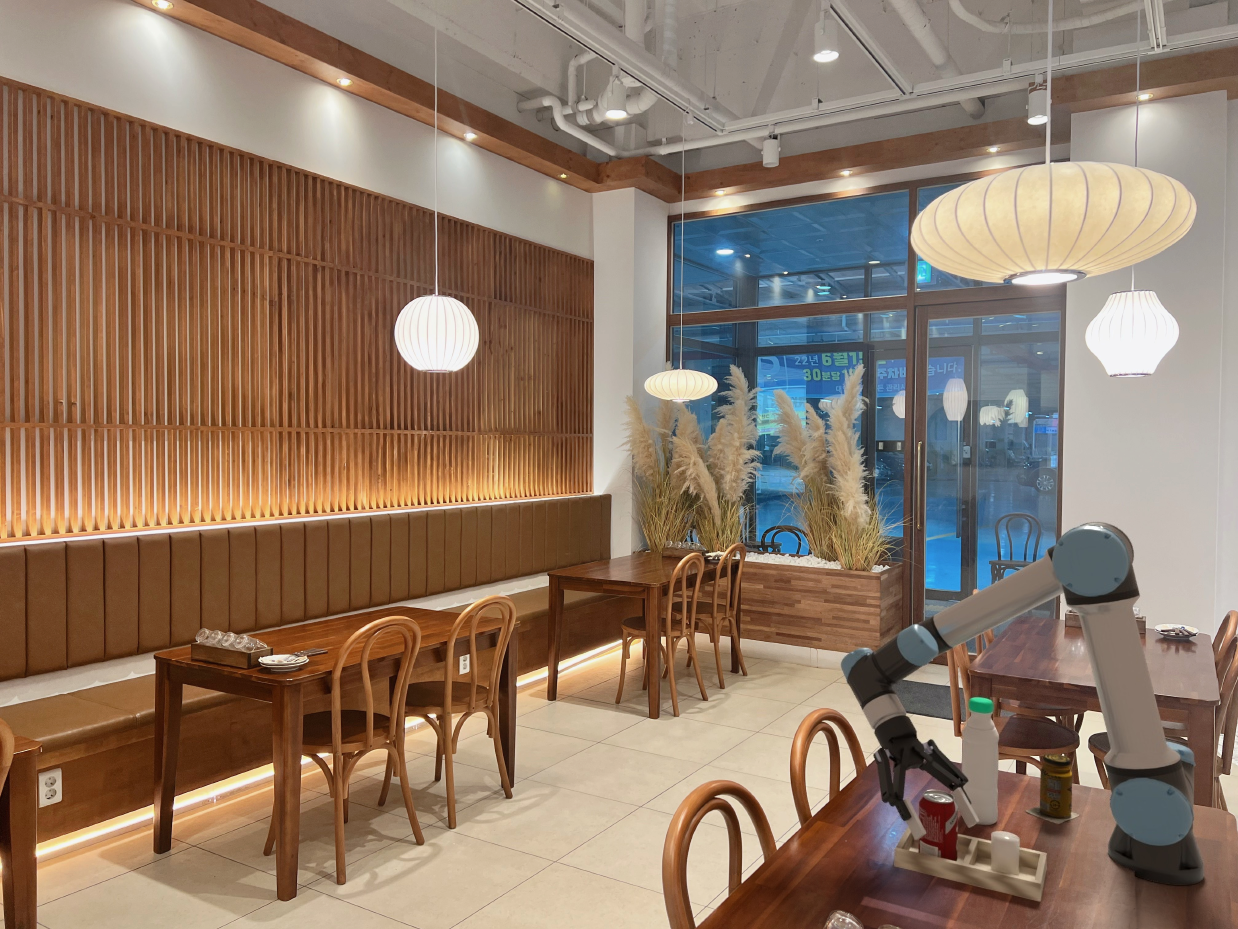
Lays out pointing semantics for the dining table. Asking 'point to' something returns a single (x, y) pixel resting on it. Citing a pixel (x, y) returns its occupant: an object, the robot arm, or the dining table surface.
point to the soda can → (939, 825)
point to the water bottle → (981, 760)
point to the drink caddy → (976, 866)
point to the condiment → (1055, 790)
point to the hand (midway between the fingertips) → (948, 830)
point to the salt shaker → (1005, 852)
